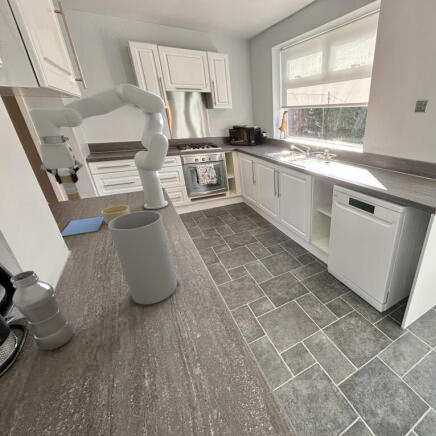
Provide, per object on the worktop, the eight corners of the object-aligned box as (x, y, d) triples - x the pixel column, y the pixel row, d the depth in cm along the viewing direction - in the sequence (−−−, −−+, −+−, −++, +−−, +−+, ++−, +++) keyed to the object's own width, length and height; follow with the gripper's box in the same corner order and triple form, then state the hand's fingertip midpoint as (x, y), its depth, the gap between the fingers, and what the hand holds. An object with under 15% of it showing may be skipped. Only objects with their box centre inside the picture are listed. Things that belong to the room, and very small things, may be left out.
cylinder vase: (149, 311, 68) (125, 234, 58) (123, 296, 73) (97, 223, 63) (185, 286, 78) (171, 216, 68) (161, 274, 83) (143, 208, 73)
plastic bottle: (35, 358, 55) (-9, 289, 47) (48, 335, 60) (11, 270, 52) (70, 348, 57) (34, 281, 49) (80, 327, 63) (49, 263, 55)
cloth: (71, 221, 121) (71, 220, 120) (105, 216, 126) (105, 216, 126) (59, 237, 106) (58, 236, 106) (97, 231, 112) (97, 230, 112)
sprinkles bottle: (72, 198, 112) (61, 169, 107) (83, 197, 113) (73, 169, 107) (65, 201, 108) (54, 172, 103) (77, 201, 109) (66, 171, 103)
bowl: (107, 218, 125) (103, 207, 123) (133, 214, 130) (130, 204, 127) (102, 226, 116) (98, 215, 113) (130, 222, 120) (127, 211, 118)
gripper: (80, 138, 106) (93, 179, 114) (29, 140, 99) (47, 182, 107) (75, 140, 100) (90, 183, 108) (20, 142, 93) (40, 187, 101)
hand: (68, 182), depth 107 cm, fingers closed on sprinkles bottle, 4 cm apart
